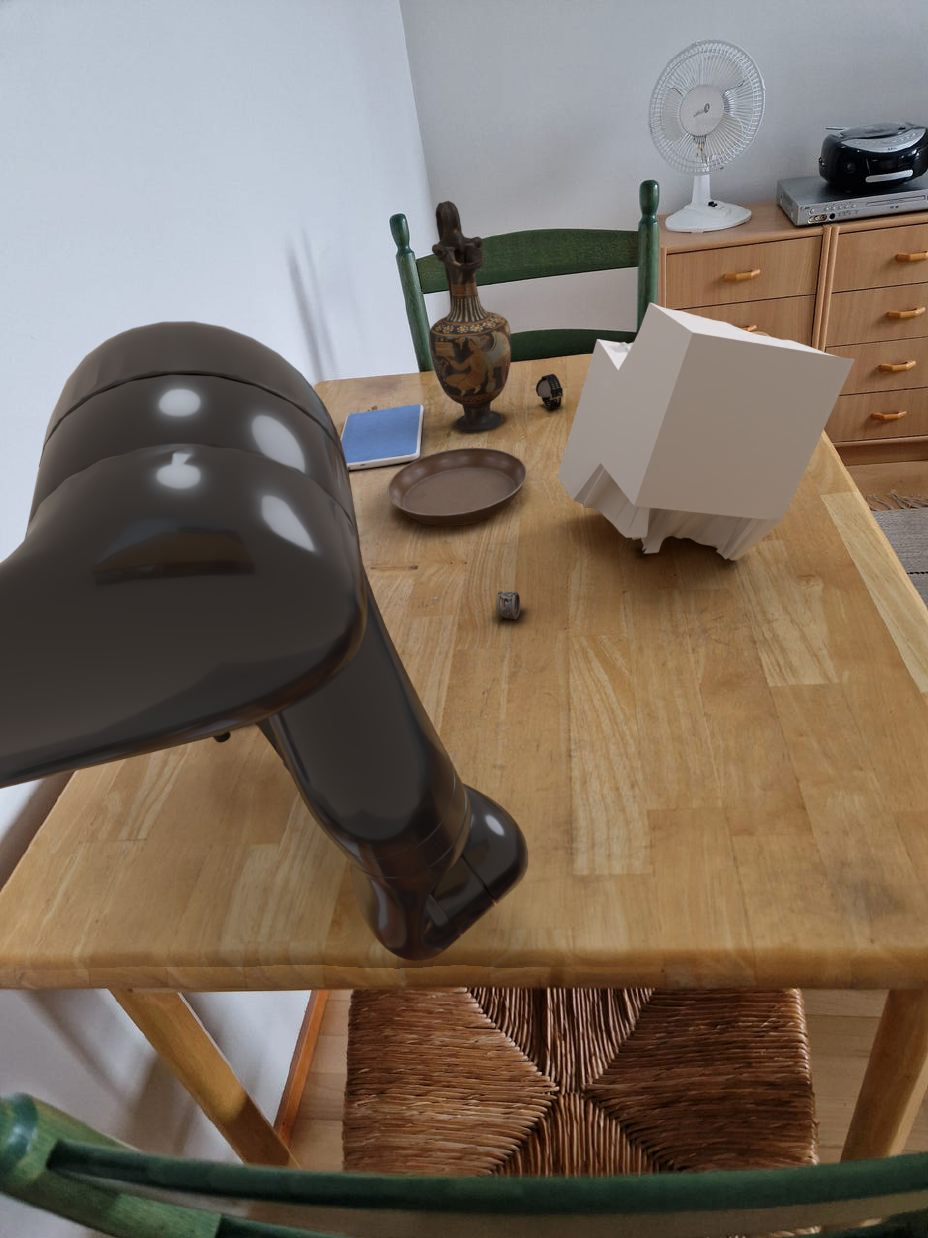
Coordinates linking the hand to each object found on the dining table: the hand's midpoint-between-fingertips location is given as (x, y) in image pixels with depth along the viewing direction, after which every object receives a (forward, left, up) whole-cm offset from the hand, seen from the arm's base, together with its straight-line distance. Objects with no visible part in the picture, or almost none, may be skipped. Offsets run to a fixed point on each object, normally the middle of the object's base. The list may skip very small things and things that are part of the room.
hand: (247, 636), depth 74 cm
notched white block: (+46, -11, -8) cm, 48 cm away
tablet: (+42, +42, -8) cm, 60 cm away
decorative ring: (+24, -7, -8) cm, 26 cm away
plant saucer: (+37, +17, -8) cm, 41 cm away
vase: (+55, +34, -8) cm, 65 cm away
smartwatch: (+64, +28, -8) cm, 70 cm away
